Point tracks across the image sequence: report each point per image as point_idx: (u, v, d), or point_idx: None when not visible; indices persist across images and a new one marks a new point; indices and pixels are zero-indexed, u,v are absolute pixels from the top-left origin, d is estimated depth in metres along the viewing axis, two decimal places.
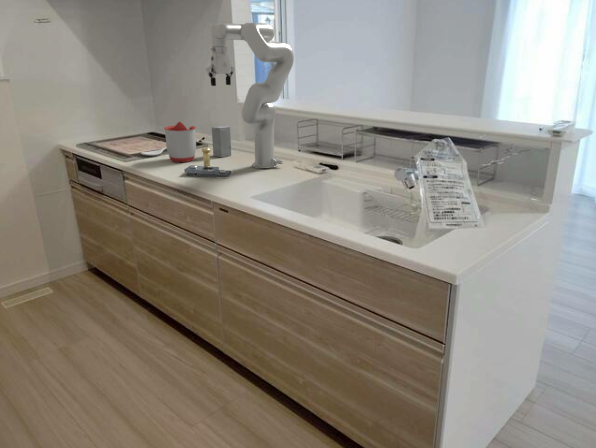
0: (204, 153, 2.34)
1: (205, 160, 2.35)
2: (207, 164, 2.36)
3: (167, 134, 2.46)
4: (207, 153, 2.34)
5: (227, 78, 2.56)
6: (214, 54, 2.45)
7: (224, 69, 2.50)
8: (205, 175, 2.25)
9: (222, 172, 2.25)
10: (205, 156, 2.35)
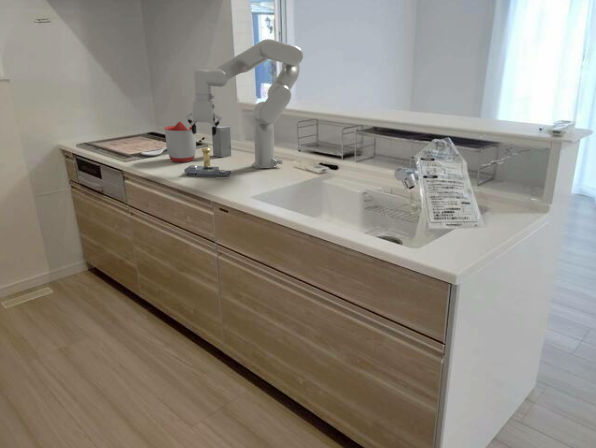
0: (204, 153, 2.34)
1: (205, 160, 2.35)
2: (207, 164, 2.36)
3: (167, 134, 2.46)
4: (207, 153, 2.34)
5: (195, 127, 2.32)
6: None
7: None
8: (205, 175, 2.25)
9: (222, 172, 2.25)
10: (205, 156, 2.35)
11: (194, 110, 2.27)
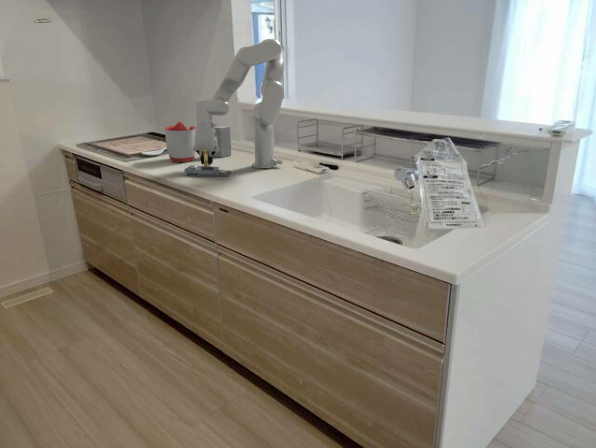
0: (204, 153, 2.34)
1: (205, 160, 2.35)
2: (207, 164, 2.36)
3: (167, 134, 2.46)
4: (207, 153, 2.34)
5: None
6: (214, 130, 2.32)
7: None
8: (205, 175, 2.25)
9: (222, 172, 2.25)
10: (205, 156, 2.35)
11: (196, 138, 2.32)
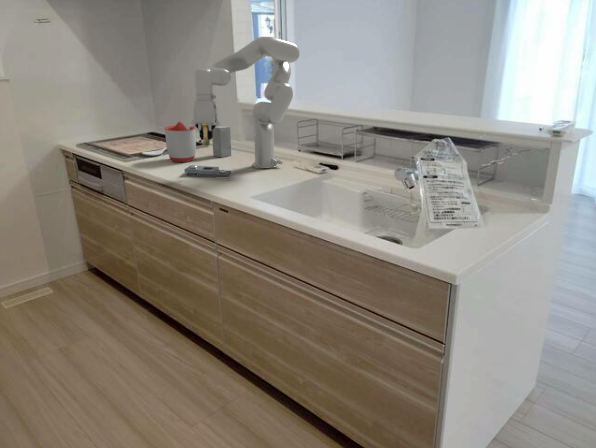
0: (203, 127, 2.20)
1: (204, 135, 2.21)
2: (207, 139, 2.21)
3: (167, 134, 2.46)
4: (207, 127, 2.20)
5: (202, 131, 2.22)
6: None
7: None
8: (205, 175, 2.25)
9: (222, 172, 2.25)
10: (204, 130, 2.20)
11: (195, 111, 2.17)
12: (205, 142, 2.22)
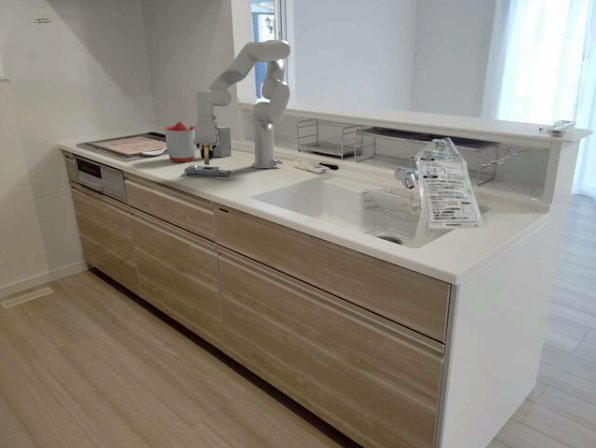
0: (204, 147, 2.23)
1: (205, 154, 2.24)
2: (207, 158, 2.24)
3: (167, 134, 2.46)
4: (208, 147, 2.23)
5: (203, 151, 2.25)
6: None
7: None
8: (205, 175, 2.25)
9: (222, 172, 2.25)
10: (205, 150, 2.23)
11: (196, 131, 2.20)
12: (206, 161, 2.25)
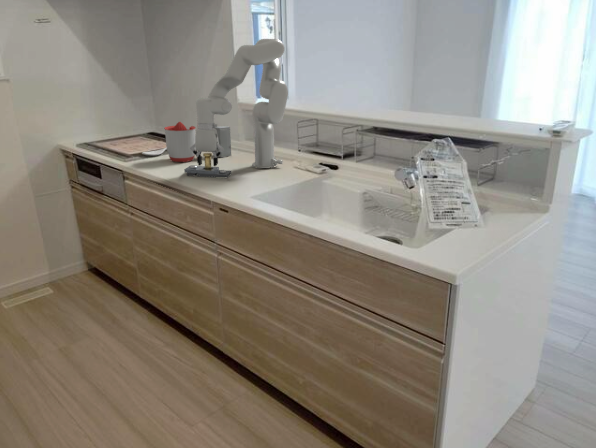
0: (205, 158, 2.25)
1: (206, 165, 2.26)
2: (208, 169, 2.26)
3: (167, 134, 2.46)
4: (209, 158, 2.25)
5: (200, 158, 2.26)
6: None
7: None
8: (205, 175, 2.25)
9: (222, 172, 2.25)
10: (206, 161, 2.25)
11: (197, 140, 2.21)
12: None
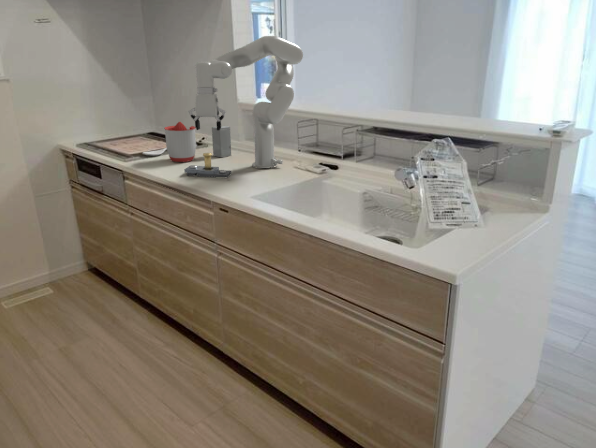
0: (205, 158, 2.25)
1: (206, 165, 2.26)
2: (208, 169, 2.26)
3: (167, 134, 2.46)
4: (208, 158, 2.25)
5: (198, 122, 2.22)
6: (216, 95, 2.18)
7: None
8: (205, 175, 2.25)
9: (222, 172, 2.25)
10: (206, 161, 2.25)
11: (197, 105, 2.17)
12: None
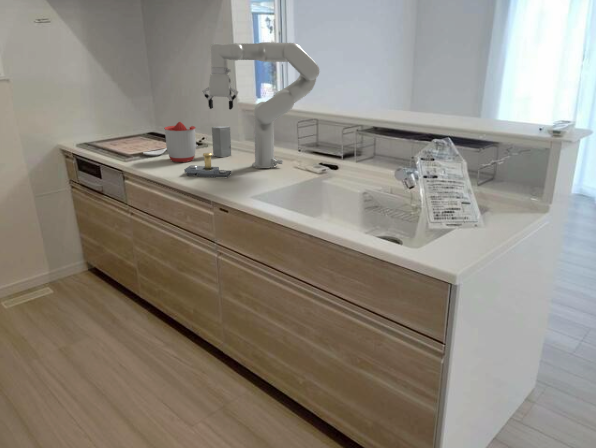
0: (205, 158, 2.25)
1: (206, 165, 2.26)
2: (208, 169, 2.26)
3: (167, 134, 2.46)
4: (208, 158, 2.25)
5: (211, 101, 2.34)
6: (229, 75, 2.30)
7: None
8: (205, 175, 2.25)
9: (222, 172, 2.25)
10: (206, 161, 2.25)
11: (211, 84, 2.29)
12: None
